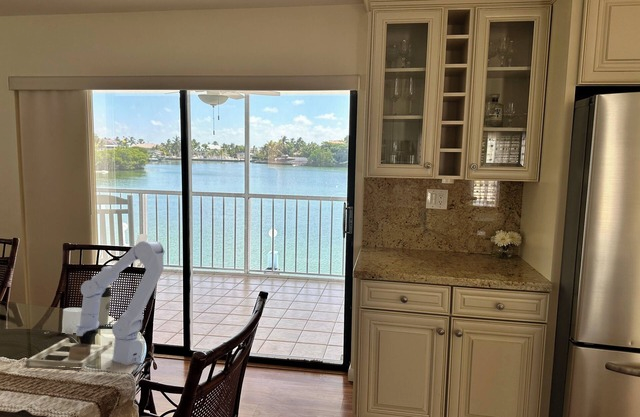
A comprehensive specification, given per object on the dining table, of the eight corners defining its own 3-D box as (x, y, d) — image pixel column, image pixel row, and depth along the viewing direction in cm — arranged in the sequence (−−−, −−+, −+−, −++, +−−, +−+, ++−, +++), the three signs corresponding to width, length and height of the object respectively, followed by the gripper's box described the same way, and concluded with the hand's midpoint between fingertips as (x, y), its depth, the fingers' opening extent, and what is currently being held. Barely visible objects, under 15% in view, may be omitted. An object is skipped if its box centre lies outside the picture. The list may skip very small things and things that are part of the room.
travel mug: (84, 324, 198) (89, 285, 199) (97, 321, 206) (101, 283, 206) (99, 327, 196) (103, 287, 197) (111, 323, 204) (115, 285, 205)
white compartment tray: (65, 345, 166) (66, 338, 166) (111, 348, 168) (112, 341, 168) (25, 368, 139) (26, 359, 139) (80, 371, 141) (81, 363, 141)
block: (75, 354, 154) (76, 343, 154) (89, 355, 154) (91, 344, 154) (68, 359, 149) (69, 347, 149) (83, 360, 149) (84, 348, 149)
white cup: (72, 336, 178) (75, 312, 178) (55, 333, 180) (58, 309, 180) (85, 332, 186) (88, 309, 186) (70, 329, 187) (73, 306, 188)
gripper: (87, 308, 163) (82, 344, 162) (68, 316, 148) (64, 356, 148) (106, 310, 164) (102, 346, 163) (90, 318, 149) (85, 357, 149)
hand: (85, 351), depth 155 cm, fingers closed
